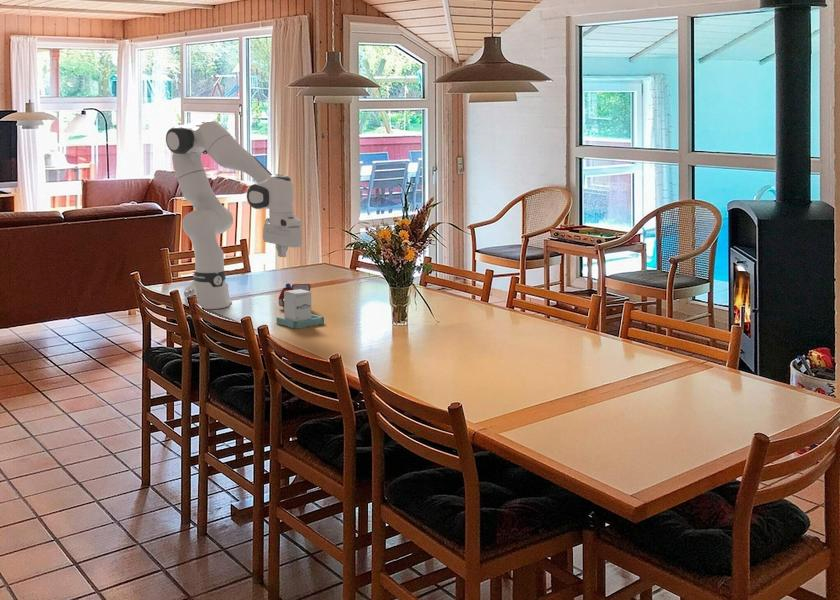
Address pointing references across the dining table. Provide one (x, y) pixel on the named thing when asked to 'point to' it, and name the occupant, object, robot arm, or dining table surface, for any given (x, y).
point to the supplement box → (297, 305)
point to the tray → (303, 323)
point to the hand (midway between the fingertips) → (282, 256)
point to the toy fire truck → (294, 287)
